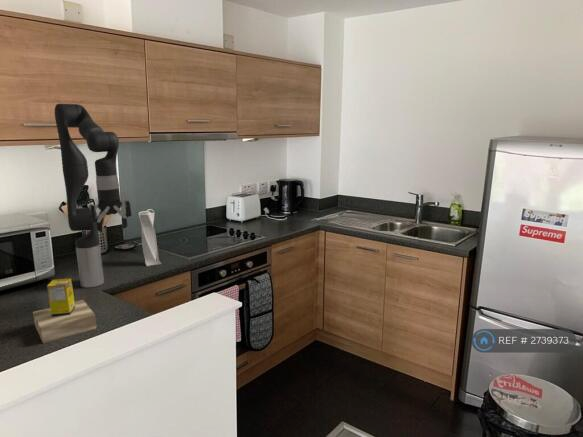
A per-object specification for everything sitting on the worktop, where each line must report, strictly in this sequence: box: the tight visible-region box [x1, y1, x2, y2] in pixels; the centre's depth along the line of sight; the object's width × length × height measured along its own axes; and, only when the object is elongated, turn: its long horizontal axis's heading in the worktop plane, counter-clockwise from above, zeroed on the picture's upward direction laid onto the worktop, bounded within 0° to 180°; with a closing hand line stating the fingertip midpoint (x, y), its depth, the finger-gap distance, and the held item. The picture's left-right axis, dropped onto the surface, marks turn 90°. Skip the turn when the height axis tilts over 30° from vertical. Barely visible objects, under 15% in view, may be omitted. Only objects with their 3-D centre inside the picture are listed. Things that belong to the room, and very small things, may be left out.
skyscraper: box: [138, 208, 162, 267], centre depth 210 cm, size 8×8×28 cm
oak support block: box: [32, 299, 98, 344], centre depth 148 cm, size 16×16×5 cm
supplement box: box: [46, 278, 76, 316], centre depth 147 cm, size 6×6×11 cm
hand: (112, 229), depth 163 cm, fingers open, 8 cm apart
